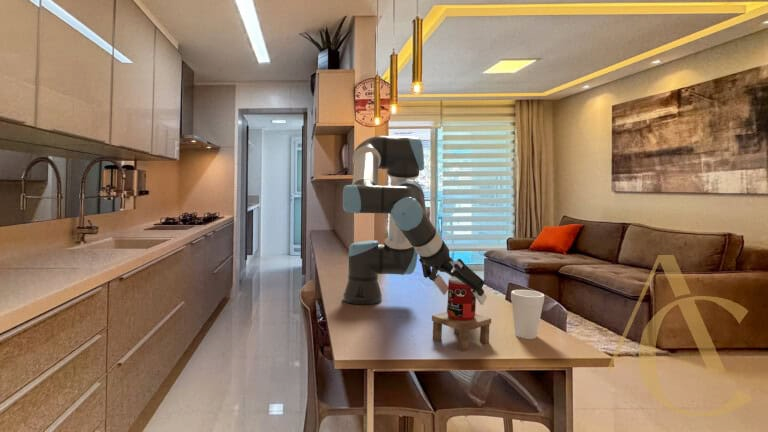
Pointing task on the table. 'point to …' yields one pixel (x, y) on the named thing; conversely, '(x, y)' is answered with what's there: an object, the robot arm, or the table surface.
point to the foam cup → (526, 312)
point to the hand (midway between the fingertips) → (464, 295)
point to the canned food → (460, 300)
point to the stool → (461, 328)
